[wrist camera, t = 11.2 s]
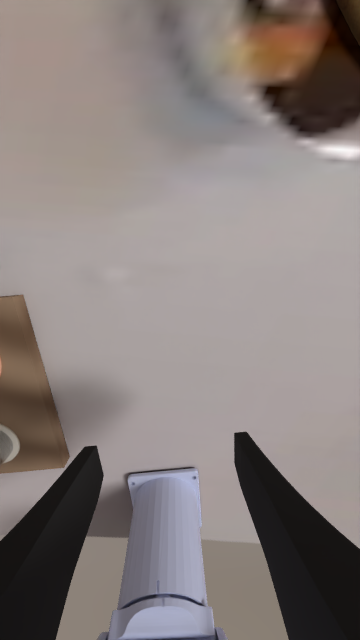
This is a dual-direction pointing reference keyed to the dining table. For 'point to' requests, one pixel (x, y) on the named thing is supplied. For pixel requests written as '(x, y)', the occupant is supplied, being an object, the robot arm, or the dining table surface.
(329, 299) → the dining table surface
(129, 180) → the dining table surface
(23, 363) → the board
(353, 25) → the wooden plate with food
